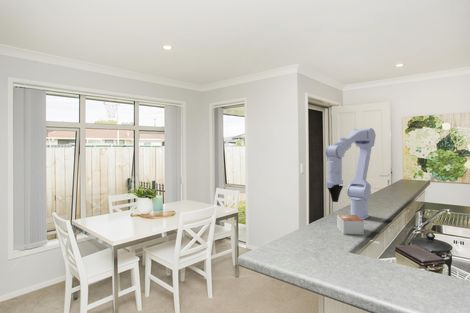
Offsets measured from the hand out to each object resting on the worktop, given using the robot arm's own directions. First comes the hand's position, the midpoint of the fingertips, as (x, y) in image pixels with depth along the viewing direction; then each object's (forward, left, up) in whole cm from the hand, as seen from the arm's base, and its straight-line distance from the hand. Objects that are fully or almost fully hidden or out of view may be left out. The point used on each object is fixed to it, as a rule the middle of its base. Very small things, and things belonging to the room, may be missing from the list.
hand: (335, 201), depth 130 cm
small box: (+2, +5, -8) cm, 9 cm away
